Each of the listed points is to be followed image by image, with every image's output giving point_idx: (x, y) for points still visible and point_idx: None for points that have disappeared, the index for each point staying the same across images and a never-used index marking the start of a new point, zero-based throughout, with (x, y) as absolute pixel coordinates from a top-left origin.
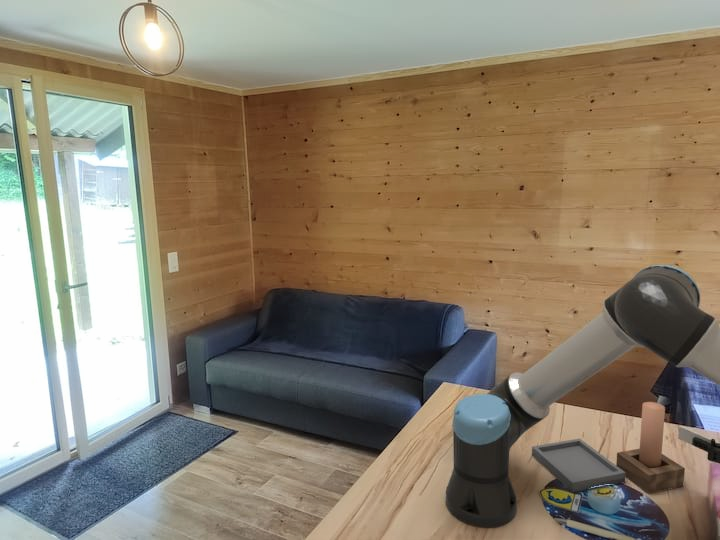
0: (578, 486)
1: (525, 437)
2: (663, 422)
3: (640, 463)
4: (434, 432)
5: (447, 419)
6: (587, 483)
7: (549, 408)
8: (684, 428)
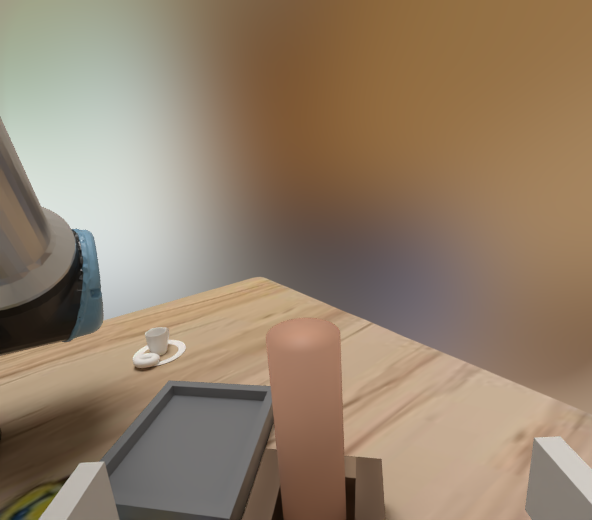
0: None
1: (222, 362)
2: (317, 402)
3: (270, 510)
4: (126, 328)
5: (175, 314)
6: None
7: (26, 292)
8: (60, 493)
